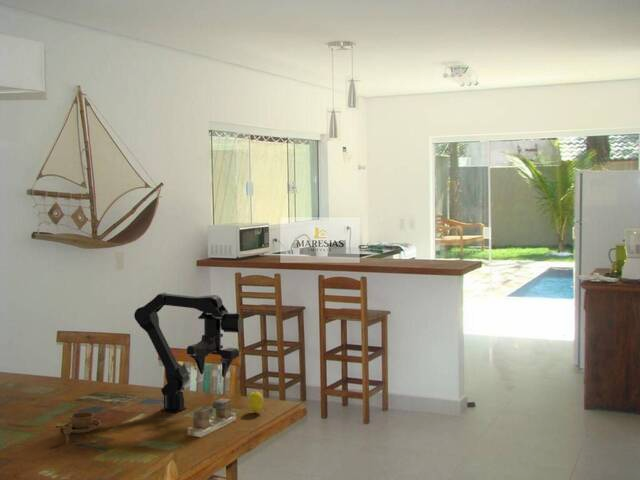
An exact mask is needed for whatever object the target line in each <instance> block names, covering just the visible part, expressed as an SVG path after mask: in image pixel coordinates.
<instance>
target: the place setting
mask: <svg viewBox="0 0 640 480" xmlns="http://www.w3.org/2000/svg"><path fill="white" fill-rule="evenodd" d="M93 415H94V414H93V413H92V412H89V411H79V412H75V413H72V414H71V415H70V420H69V421H67V422H64V423H61V424H59V423H58V424H57V425H56V427H57V428H60V427H62V431H63V434H65V443H66V444H68V443H70V437H69V436H70V434H83V433H90V432H93V431H97V430H98V429H99V428H100V427H101V425H102V424H101V421H100V420H97V419H95V418H93V417H94V416H93ZM91 425H96V426H94V427H89V426H91ZM72 426H73V427H72ZM72 428H73V429H72ZM74 428H75V429H74ZM87 437H90V435H87Z"/></svg>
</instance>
